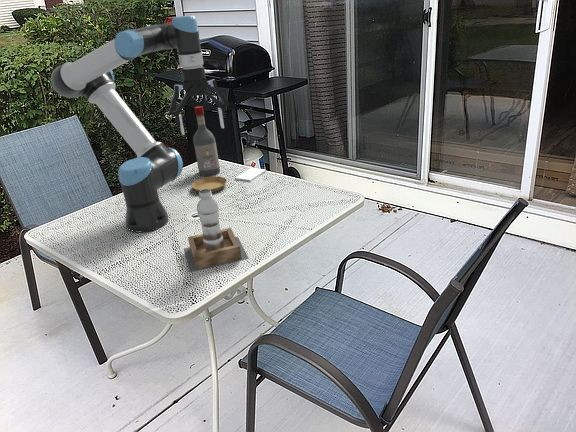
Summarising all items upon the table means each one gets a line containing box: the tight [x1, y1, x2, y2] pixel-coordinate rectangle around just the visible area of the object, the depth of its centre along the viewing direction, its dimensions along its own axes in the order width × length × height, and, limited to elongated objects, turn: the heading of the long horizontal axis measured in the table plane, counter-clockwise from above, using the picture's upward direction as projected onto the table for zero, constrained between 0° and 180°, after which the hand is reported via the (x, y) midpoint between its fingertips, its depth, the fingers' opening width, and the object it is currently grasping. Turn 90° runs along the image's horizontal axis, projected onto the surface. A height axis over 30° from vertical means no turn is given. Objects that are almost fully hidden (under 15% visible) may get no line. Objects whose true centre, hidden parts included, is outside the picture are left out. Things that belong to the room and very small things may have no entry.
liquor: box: [192, 105, 221, 177], centre depth 219 cm, size 9×9×30 cm
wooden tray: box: [187, 227, 242, 269], centre depth 154 cm, size 14×14×4 cm
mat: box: [183, 236, 250, 273], centre depth 155 cm, size 18×16×1 cm
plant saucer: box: [191, 175, 228, 193], centre depth 208 cm, size 15×15×3 cm
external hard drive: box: [234, 167, 267, 182], centre depth 217 cm, size 2×8×12 cm
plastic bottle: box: [196, 189, 224, 251], centre depth 150 cm, size 6×7×20 cm
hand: (203, 130), depth 170 cm, fingers open, 13 cm apart
